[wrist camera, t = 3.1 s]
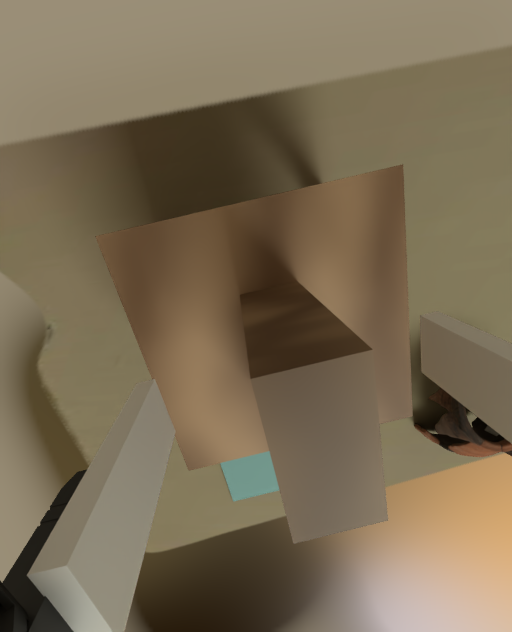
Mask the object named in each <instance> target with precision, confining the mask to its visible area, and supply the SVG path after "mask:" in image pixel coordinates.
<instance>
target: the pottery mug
mask: <svg viewBox="0 0 512 632" xmlns="http://www.w3.org/2000/svg"><path fill="white" fill-rule="evenodd" d="M429 399H430V400H433V401H435V402H436V403H438V404H439V405H441V406H443V407H444V408H445V409H447V410H448V411H449V412H448V413H446V414H444V415H442V416H441V418H440V420H439V422H438V423H437V424H436V425H435V429H436V432H437V433H438V434H432V433H429V432H428V431H427V430H426V429H423V428H422V427H420V426H419V425H417V424H415V425H414V427H415V428H416V429H417V430H418V431H419V432H421V433H422V434H423V435H424V436H425V437H427V438H428V439H430V440H431V441H432V442H435V443H437V444H439V445H440V446H442V447H443V448H445V449H447V450H449V451H451V452H455V453H457V454H460V455H465V456H473V457H484V456H489V455H493V454H496V453H498V452H501V451H502V452H505V453H507V454H509V455H511V456H512V444H511V443H510V442H509V441H507V440H506V439H505V438H504V437H502V436H501V435H500V434H499V433H497V432H496V431H495V430H494V429H492V428H491V427H490V426H489V425H487V424H486V423H485V422H484V421H482V420H481V419H480V418H479V417H477V418H476V419H475V420H474V421H473V422H472V426H473V429H472V427H471V425H470V423H469V421H468V419H467V416H466V411H465V406H463V405H462V404H461V403H460V402H458V401H457V400H456V399H455V398H453V397H452V396H451V395H450V394H448V393H447V392H446V391H445V390H443V389H442V388H441V387H440V389H439V390H438V391H437V392H436V393H434V394H433V395H431V396H430V397H429Z"/></svg>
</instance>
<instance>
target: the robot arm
mask: <svg viewBox="0 0 512 632" xmlns="http://www.w3.org/2000/svg"><path fill="white" fill-rule="evenodd" d="M420 335H421V372H422V373H423V374H424V375H426V376H427V377H428V378H429V379H431V380H432V381H433V382H435V383H436V384H437V385H438V386H440V387H441V388H442V389H443V390H445V391H446V392H447V393H448V394H450V395H451V396H452V397H453V398H455V399H456V400H457V401H458V402H460V403H461V404H462V405H463V406H465V407H466V408H467V409H468V410H470V411H471V412H472V413H474V414H475V415H476V416H477V417H479V418H480V419H481V420H482V421H484V422H485V423H486V424H487V425H489V426H490V427H491V428H492V429H494V430H495V431H496V432H497V433H499V434H500V435H501V436H502V437H504V438H505V439H506V440H507V441H509V442H510V443H511V444H512V343H509V342H507V341H505V340H503V339H500V338H498V337H496V336H493V335H491V334H489V333H487V332H484V331H482V330H480V329H477V328H475V327H473V326H471V325H468V324H466V323H464V322H462V321H459V320H457V319H455V318H452V317H450V316H448V315H446V314H443V313H441V312H439V311H436V312H432V313H428V314H424V315H420ZM175 432H176V431H175V429H174V426H173V424H172V421H171V419H170V416H169V414H168V411H167V409H166V406H165V403H164V401H163V398H162V396H161V393H160V391H159V388H158V386H157V383H156V381H155V379H152V380H148V381H144V382H140V383H136V385H135V387H134V389H133V390H132V392H131V394H130V396H129V397H128V399H127V401H126V403H125V404H124V406H123V408H122V410H121V411H120V413H119V415H118V417H117V418H116V420H115V422H114V424H113V425H112V427H111V429H110V431H109V432H108V434H107V436H106V438H105V439H104V441H103V443H102V445H101V446H100V448H99V450H98V452H97V453H96V455H95V457H94V459H93V460H92V462H91V464H90V466H89V467H88V469H87V470H83V471H79V472H77V473H76V474H75V475H74V476H73V477H72V478H71V479H70V480H69V481H68V482H67V483H66V484H65V485H64V487H63V488H62V489H61V490H60V492H59V493H58V495H57V497H56V498H55V500H54V502H53V503H52V505H51V506H50V510H48V511H47V513H46V514H45V516H44V517H43V519H42V520H41V522H40V523H41V525H40V526H38V527H37V529H36V530H35V532H34V533H33V535H32V537H31V538H30V540H29V541H28V543H27V545H26V546H25V548H24V549H23V551H22V553H21V554H20V556H19V557H18V559H17V560H16V562H15V564H14V565H13V567H12V568H11V570H10V572H9V573H8V575H7V576H6V578H5V580H4V581H3V583H2V582H1V581H0V632H124V631H125V627H126V622H127V619H128V615H129V611H130V607H131V603H132V599H133V595H134V592H135V588H136V584H137V580H138V576H139V572H140V568H141V564H142V560H143V556H144V553H145V549H146V545H147V541H148V537H149V533H150V529H151V525H152V521H153V518H154V514H155V510H156V506H157V502H158V498H159V494H160V490H161V486H162V482H163V479H164V475H165V471H166V467H167V463H168V459H169V455H170V451H171V447H172V444H173V440H174V436H175Z"/></svg>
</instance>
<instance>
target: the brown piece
mask: <svg viewBox="0 0 512 632" xmlns="http://www.w3.org/2000/svg"><path fill="white" fill-rule="evenodd" d="M95 237H96V239H97V242H98V244H99V247H100V249H101V252H102V254H103V257H104V259H105V262H106V264H107V267H108V269H109V272H110V274H111V277H112V279H113V282H114V284H115V287H116V289H117V292H118V294H119V297H120V299H121V302H122V304H123V307H124V309H125V312H126V314H127V317H128V319H129V322H130V324H131V327H132V330H133V332H134V335H135V337H136V340H137V342H138V345H139V347H140V350H141V352H142V355H143V357H144V360H145V362H146V365H147V367H148V370H149V372H150V375H151V377H152V379H155V381H156V383H157V386H158V388H159V391H160V393H161V396H162V398H163V401H164V403H165V406H166V409H167V411H168V414H169V416H170V419H171V421H172V424H173V426H174V429H175V431H176V432H175V437H176V440H177V442H178V445H179V447H180V450H181V452H182V455H183V457H184V460H185V462H186V465H187V467H188V470H194V469H198V468H202V467H206V466H210V465H214V464H218V463H222V462H226V461H231V460H235V459H239V458H243V457H247V456H251V455H255V454H259V453H263V452H268V451H269V452H270V456H271V459H272V463H273V467H274V471H275V475H276V478H277V482H278V486H279V490H280V494H281V498H282V501H283V505H284V509H285V513H286V517H287V520H288V524H289V528H290V532H291V535H292V539H293V543H299V542H303V541H307V540H311V539H315V538H319V537H323V536H327V535H331V534H335V533H339V532H343V531H347V530H351V529H355V528H359V527H363V526H367V525H371V524H376V523H380V522H383V521H388V515H387V504H386V492H385V481H384V469H383V458H382V447H381V435H380V424H383V423H387V422H391V421H395V420H399V419H403V418H407V417H411V416H413V411H412V385H411V359H410V333H409V307H408V281H407V255H406V229H405V202H404V176H403V165H399V166H394V167H390V168H386V169H382V170H377V171H373V172H369V173H364V174H360V175H356V176H351V177H347V178H343V179H339V180H334V181H330V182H326V183H321V184H317V185H313V186H309V187H304V188H300V189H296V190H291V191H287V192H283V193H279V194H274V195H270V196H266V197H261V198H257V199H253V200H249V201H244V202H240V203H236V204H231V205H227V206H223V207H219V208H214V209H210V210H206V211H201V212H197V213H193V214H189V215H184V216H180V217H176V218H171V219H167V220H163V221H159V222H154V223H150V224H146V225H141V226H137V227H133V228H129V229H124V230H120V231H116V232H111V233H107V234H103V235H99V236H95Z"/></svg>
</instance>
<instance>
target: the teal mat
mask: <svg viewBox="0 0 512 632" xmlns="http://www.w3.org/2000/svg"><path fill="white" fill-rule="evenodd" d="M220 464H221V467H222V470H223V472H224V475H225V478H226V481H227V484H228V487H229V490H230V493H231V496H232V499H233V501H237V500H241V499H245V498H249V497H253V496H258V495H262V494H266V493H270V492H274V491H278V490H279V486H278V482H277V478H276V475H275V471H274V467H273V463H272V459H271V456H270V452H269V451H268V452H263V453H259V454H255V455H251V456H247V457H243V458H239V459H235V460H231V461H226V462H222V463H220Z"/></svg>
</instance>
